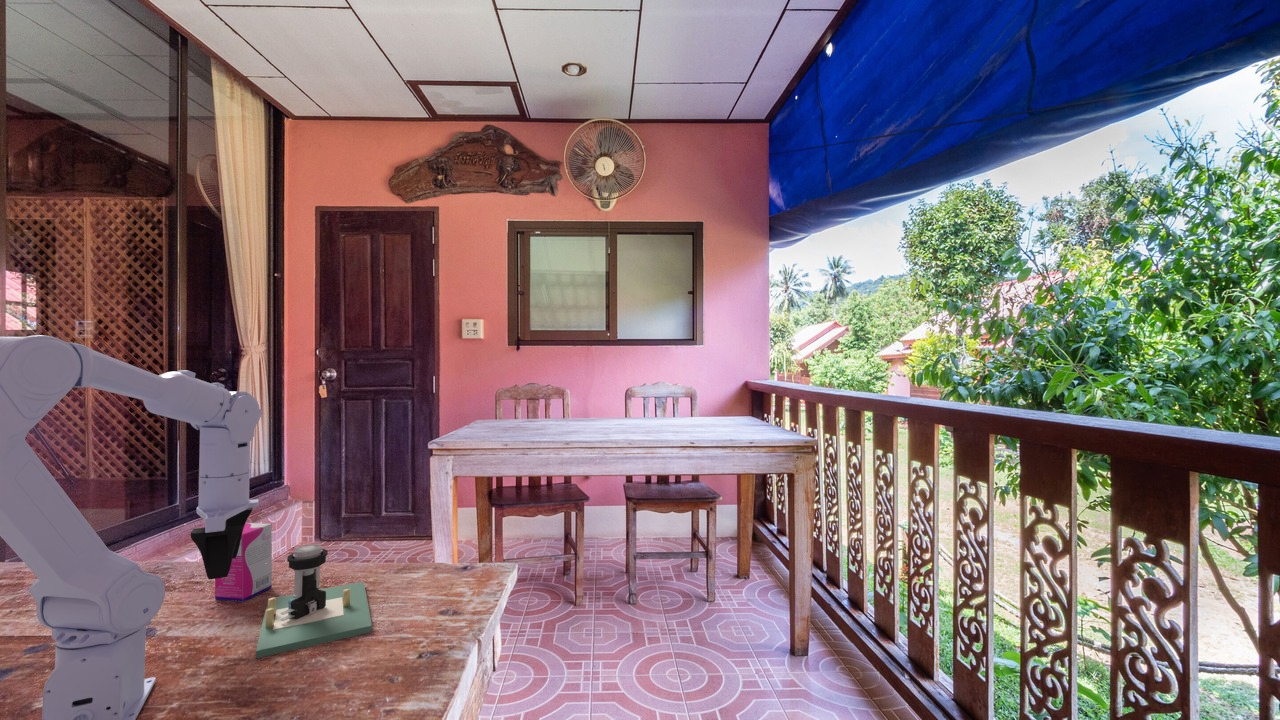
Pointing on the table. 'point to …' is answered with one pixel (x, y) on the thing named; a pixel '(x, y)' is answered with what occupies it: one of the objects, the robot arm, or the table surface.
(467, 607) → the table surface
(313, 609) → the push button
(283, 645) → the board
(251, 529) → the supplement box
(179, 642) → the table surface
